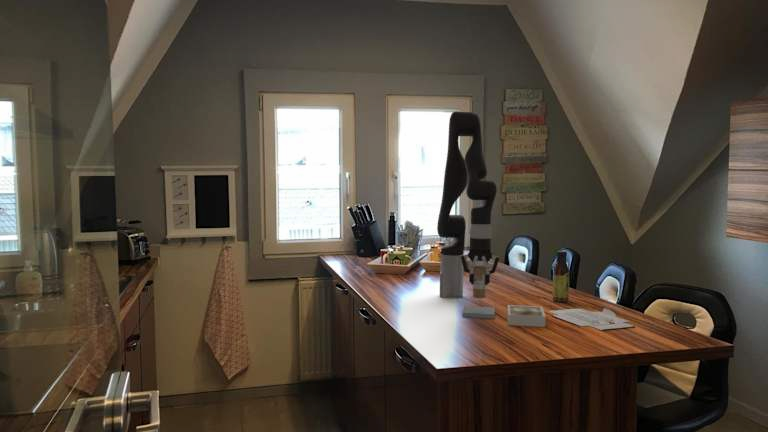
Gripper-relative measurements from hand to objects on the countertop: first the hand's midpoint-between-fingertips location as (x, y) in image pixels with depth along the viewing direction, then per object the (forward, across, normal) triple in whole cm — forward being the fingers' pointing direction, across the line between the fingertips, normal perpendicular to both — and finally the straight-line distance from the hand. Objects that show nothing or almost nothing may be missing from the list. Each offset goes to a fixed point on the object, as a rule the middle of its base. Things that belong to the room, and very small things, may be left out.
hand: (479, 284), depth 215 cm
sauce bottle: (+11, +31, +30) cm, 45 cm away
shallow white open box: (+11, +16, -6) cm, 20 cm away
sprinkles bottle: (+5, 0, 0) cm, 5 cm away
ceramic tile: (+11, 0, 0) cm, 11 cm away
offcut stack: (+11, +15, -10) cm, 21 cm away
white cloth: (+12, +38, +1) cm, 40 cm away
